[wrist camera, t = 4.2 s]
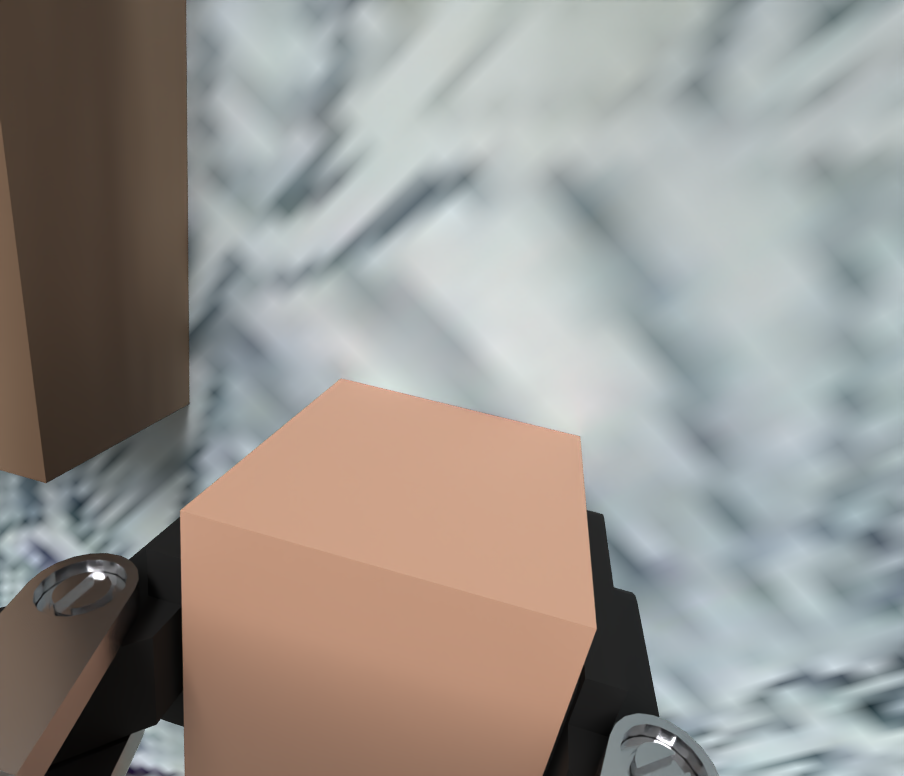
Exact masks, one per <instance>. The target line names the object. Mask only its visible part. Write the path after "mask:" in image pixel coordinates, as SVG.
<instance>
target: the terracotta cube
mask: <svg viewBox="0 0 904 776" xmlns="http://www.w3.org/2000/svg"><path fill="white" fill-rule="evenodd" d="M180 533H181V589H182V645H183V701H184V757H185V776H543V773H544V770H545V768H546V765H547V762H548V759H549V757H550V754H551V751H552V749H553V746H554V743H555V741H556V738H557V735H558V732H559V730H560V727H561V724H562V722H563V719H564V716H565V713H566V711H567V708H568V705H569V703H570V700H571V697H572V694H573V692H574V689H575V686H576V684H577V681H578V678H579V676H580V673H581V670H582V667H583V665H584V662H585V659H586V657H587V654H588V651H589V648H590V646H591V643H592V640H593V638H594V635H595V632H596V630H597V626H596V615H595V603H594V591H593V580H592V568H591V557H590V545H589V534H588V522H587V511H586V499H585V488H584V476H583V464H582V453H581V441H580V436H576V435H572V434H568V433H564V432H559V431H555V430H551V429H547V428H543V427H539V426H535V425H531V424H526V423H522V422H518V421H514V420H510V419H506V418H502V417H498V416H493V415H489V414H485V413H481V412H477V411H473V410H469V409H465V408H461V407H456V406H452V405H448V404H444V403H440V402H436V401H432V400H428V399H423V398H419V397H415V396H411V395H407V394H403V393H399V392H395V391H390V390H386V389H382V388H378V387H374V386H370V385H366V384H362V383H357V382H353V381H349V380H345V379H340V380H338V381H337V382H336V383H335V384H334V385H332V386H331V387H330V388H329V389H327V390H326V391H325V392H324V393H323V394H321V395H320V396H319V397H318V398H317V399H315V400H314V401H313V402H312V403H310V404H309V405H308V406H307V407H306V408H304V409H303V410H302V411H301V412H299V413H298V414H297V415H296V416H295V417H293V418H292V419H291V420H290V421H289V422H287V423H286V424H285V425H284V426H282V427H281V428H280V429H279V430H278V431H276V432H275V433H274V434H273V435H271V436H270V437H269V438H268V439H267V440H265V441H264V442H263V443H262V444H260V445H259V446H258V447H257V448H256V449H254V450H253V451H252V452H251V453H250V454H248V455H247V456H246V457H245V458H243V459H242V460H241V461H240V462H239V463H237V464H236V465H235V466H234V467H232V468H231V469H230V470H229V471H228V472H226V473H225V474H224V475H223V476H222V477H220V478H219V479H218V480H217V481H215V482H214V483H213V484H212V485H211V486H209V487H208V488H207V489H206V490H204V491H203V492H202V493H201V494H200V495H198V496H197V497H196V498H195V499H194V500H192V501H191V502H190V503H189V504H187V505H186V506H185V507H184V508H183V509H181V510H180Z"/></svg>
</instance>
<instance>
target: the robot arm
mask: <svg viewBox="0 0 904 776" xmlns="http://www.w3.org/2000/svg"><path fill="white" fill-rule="evenodd" d="M586 511H587V522H588V534H589V545H590V557H591V568H592V580H593V591H594V603H595V615H596V626H597V630H596V632H595V635H594V638H593V640H592V643H591V646H590V648H589V651H588V654H587V657H586V659H585V662H584V665H583V667H582V670H581V673H580V676H579V678H578V681H577V684H576V686H575V689H574V692H573V694H572V697H571V700H570V703H569V705H568V708H567V711H566V713H565V716H564V719H563V722H562V724H561V727H560V730H559V732H558V735H557V738H556V741H555V743H554V746H553V749H552V751H551V754H550V757H549V759H548V762H547V765H546V768H545V770H544V773H543V776H719V775H718V772H717V770H716V768H715V766H714V764H713V762H712V761H711V760H710V758H709V757H708V755H707V754H706V753H705V751H704V750H703V748H702V747H701V746H700V745H699V744H698V743H697V742H696V741H695V740H694V739H693V738H692V737H690V736H689V735H688V734H687V733H686V732H685V731H683V730H682V729H680V728H679V727H677V726H676V725H674V724H673V723H671V722H669V721H667V720H664V719H662V718H659V713H658V707H657V702H656V697H655V692H654V687H653V681H652V676H651V671H650V666H649V661H648V655H647V650H646V645H645V640H644V635H643V629H642V624H641V619H640V614H639V609H638V604H637V600H636V597H635V595H634V594H633V593H632V592H629V591H625V590H621V589H618V588H614V586H613V579H612V572H611V565H610V558H609V550H608V543H607V536H606V529H605V522H604V516H603V514H600V513H596V512H592V511H588V510H586ZM160 719H162V720H165V721H168V722H171V723H174V724H177V725H180V726H183V727H184V701H183V645H182V589H181V533H180V517H179V518H178V519H177V520H176V521H174V522H173V523H172V524H171V525H170V526H168V527H167V528H166V529H165V530H164V531H163V532H161V533H160V534H159V535H158V536H157V537H155V538H154V539H153V540H152V541H151V542H149V543H148V544H147V545H146V546H145V547H143V548H142V549H141V550H140V551H139V552H137V553H136V554H135V555H134V556H133V557H131V558H130V559H129V560H128V559H126V558H124V557H122V556H119V555H114V554H108V553H97V554H86V555H81V556H76V557H72V558H69V559H66V560H64V561H61V562H58V563H56V564H54V565H52V566H50V567H48V568H47V569H45V570H43V571H41V572H40V573H39V574H37V575H36V576H35V577H34V578H33V579H32V580H30V581H29V582H28V583H27V584H26V585H25V586H24V588H23V589H22V590H21V591H20V592H19V593H18V594H17V595H16V596H15V598H14V599H13V600H12V601H11V602H10V603H9V604H8V605H7V606H6V607H2V608H0V776H125V774H126V772H127V770H128V768H129V766H130V764H131V761H132V759H133V757H134V755H135V753H136V751H137V748H138V746H139V744H140V742H141V740H142V737H143V735H144V731H145V729H146V728H148V727H151V726H154V725H156V724H157V723H158V722H159V721H160Z"/></svg>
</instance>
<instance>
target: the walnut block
mask: <svg viewBox="0 0 904 776" xmlns="http://www.w3.org/2000/svg"><path fill="white" fill-rule="evenodd" d="M188 404H189V292H188V177H187V62H186V0H0V470H2V471H6V472H9V473H13V474H16V475H20V476H23V477H27V478H30V479H34V480H37V481H41V482H44V483H47V482H49V481H51V480H53V479H54V478H56V477H58V476H60V475H62V474H63V473H65V472H67V471H69V470H71V469H73V468H74V467H76V466H78V465H80V464H82V463H83V462H85V461H87V460H89V459H91V458H92V457H94V456H96V455H98V454H100V453H101V452H103V451H105V450H107V449H109V448H110V447H112V446H114V445H116V444H118V443H120V442H121V441H123V440H125V439H127V438H129V437H130V436H132V435H134V434H136V433H138V432H139V431H141V430H143V429H145V428H147V427H148V426H150V425H152V424H154V423H156V422H157V421H159V420H161V419H163V418H165V417H167V416H168V415H170V414H172V413H174V412H176V411H177V410H179V409H181V408H183V407H185V406H186V405H188Z"/></svg>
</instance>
